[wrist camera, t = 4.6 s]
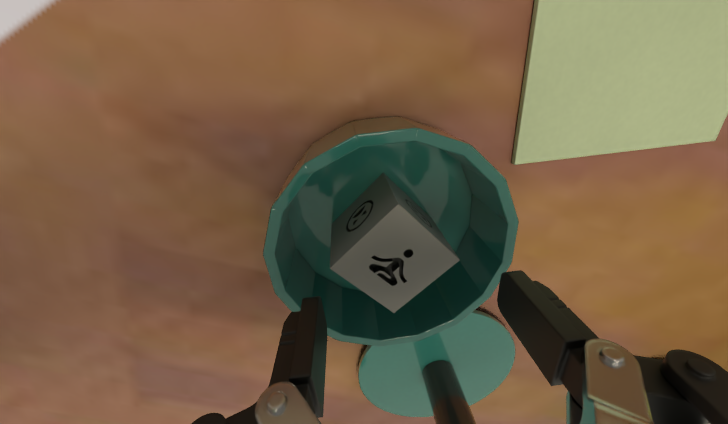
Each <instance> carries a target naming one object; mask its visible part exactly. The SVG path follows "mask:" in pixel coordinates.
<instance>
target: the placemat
mask: <svg viewBox="0 0 728 424" xmlns="http://www.w3.org/2000/svg"><path fill="white" fill-rule="evenodd" d="M727 114H728V0H535V1H534V8H533V15H532V22H531V29H530V36H529V43H528V50H527V57H526V64H525V71H524V79H523V86H522V93H521V100H520V107H519V114H518V121H517V128H516V135H515V142H514V149H513V156H512V164H514V165H517V164H525V163H534V162H542V161H550V160H559V159H567V158H575V157H584V156H592V155H600V154H609V153H617V152H625V151H634V150H642V149H650V148H659V147H667V146H675V145H684V144H692V143H700V142H709V141H715V140H716V138H717V136H718V133H719V131H720V129H721V127H722V125H723V122H724V120H725V118H726V116H727Z"/></svg>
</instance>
